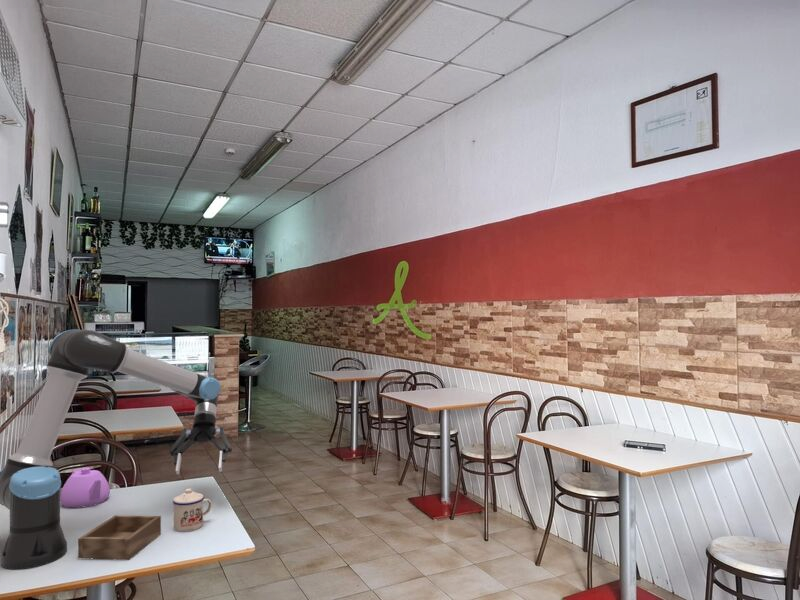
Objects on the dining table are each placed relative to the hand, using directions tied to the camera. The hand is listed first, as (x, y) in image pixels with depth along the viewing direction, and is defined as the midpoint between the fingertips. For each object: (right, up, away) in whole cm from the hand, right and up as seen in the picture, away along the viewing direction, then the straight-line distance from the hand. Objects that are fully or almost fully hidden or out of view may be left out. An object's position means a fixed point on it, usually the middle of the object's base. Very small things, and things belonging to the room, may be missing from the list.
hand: (198, 471), depth 184 cm
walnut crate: (-13, -14, -26) cm, 32 cm away
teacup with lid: (+2, -14, -11) cm, 18 cm away
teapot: (-46, -15, +13) cm, 50 cm away
